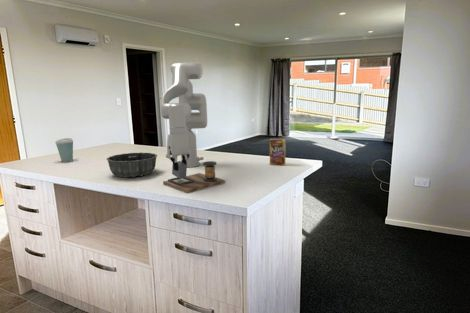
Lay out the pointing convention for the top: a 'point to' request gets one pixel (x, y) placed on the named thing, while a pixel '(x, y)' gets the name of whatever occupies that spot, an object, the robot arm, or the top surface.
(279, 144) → the candy box
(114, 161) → the bundt pan
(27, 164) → the top surface
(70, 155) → the disposable coffee cup
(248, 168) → the top surface
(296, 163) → the top surface
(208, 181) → the winding board
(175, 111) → the robot arm
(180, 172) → the gray rectangular block
